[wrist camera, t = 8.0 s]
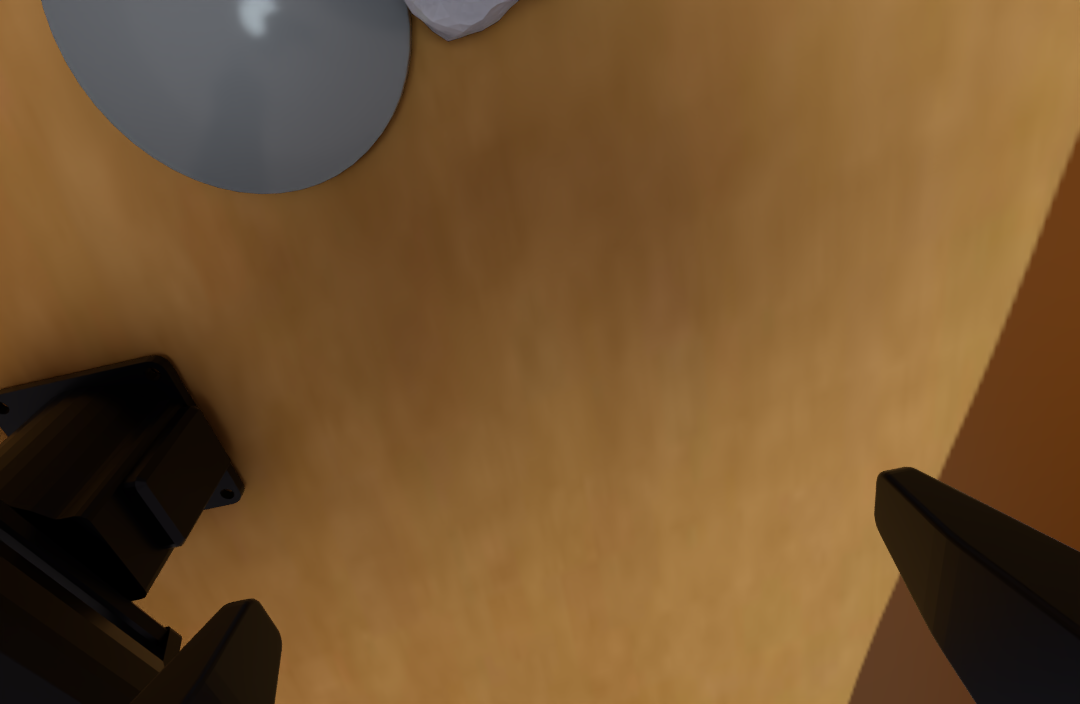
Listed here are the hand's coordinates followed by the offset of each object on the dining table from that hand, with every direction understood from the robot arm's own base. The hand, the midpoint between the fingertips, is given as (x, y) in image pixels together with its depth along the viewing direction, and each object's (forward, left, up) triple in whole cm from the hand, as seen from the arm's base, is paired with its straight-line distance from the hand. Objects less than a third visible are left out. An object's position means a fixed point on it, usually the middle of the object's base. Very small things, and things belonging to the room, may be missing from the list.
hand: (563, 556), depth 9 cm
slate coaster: (-6, +8, -13) cm, 16 cm away
